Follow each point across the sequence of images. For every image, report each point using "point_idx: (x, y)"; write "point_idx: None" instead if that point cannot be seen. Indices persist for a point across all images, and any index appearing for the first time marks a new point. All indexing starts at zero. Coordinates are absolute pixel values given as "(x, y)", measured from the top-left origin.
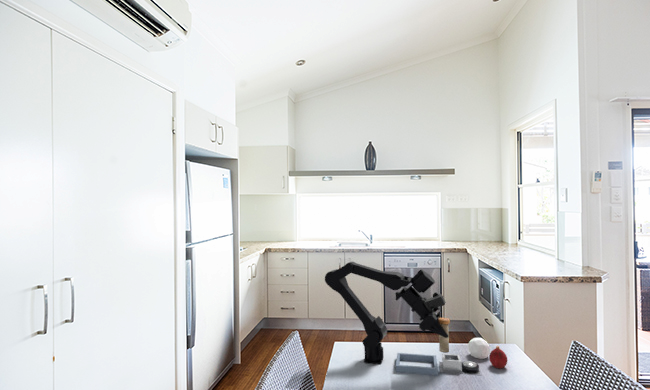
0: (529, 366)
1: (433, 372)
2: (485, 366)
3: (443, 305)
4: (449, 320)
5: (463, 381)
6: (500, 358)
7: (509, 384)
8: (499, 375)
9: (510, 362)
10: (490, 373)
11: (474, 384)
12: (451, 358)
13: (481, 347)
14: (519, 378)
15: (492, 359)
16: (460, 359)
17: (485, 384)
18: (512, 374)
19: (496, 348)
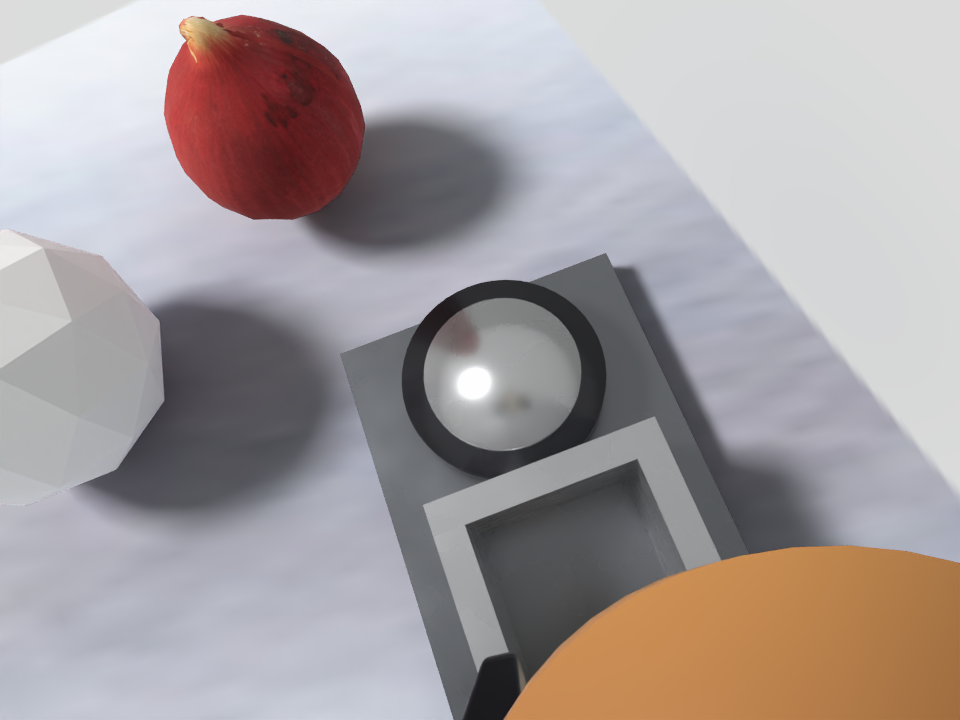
0: (131, 14)
1: None
2: (287, 302)
3: None
4: (828, 546)
5: (788, 397)
6: (333, 64)
7: (589, 60)
8: (443, 157)
9: (96, 142)
10: (438, 228)
11: (785, 290)
12: (497, 609)
13: (91, 290)
14: (422, 26)
15: (340, 154)
16: (591, 446)
17: (717, 210)
18: (365, 81)
19: (230, 47)
